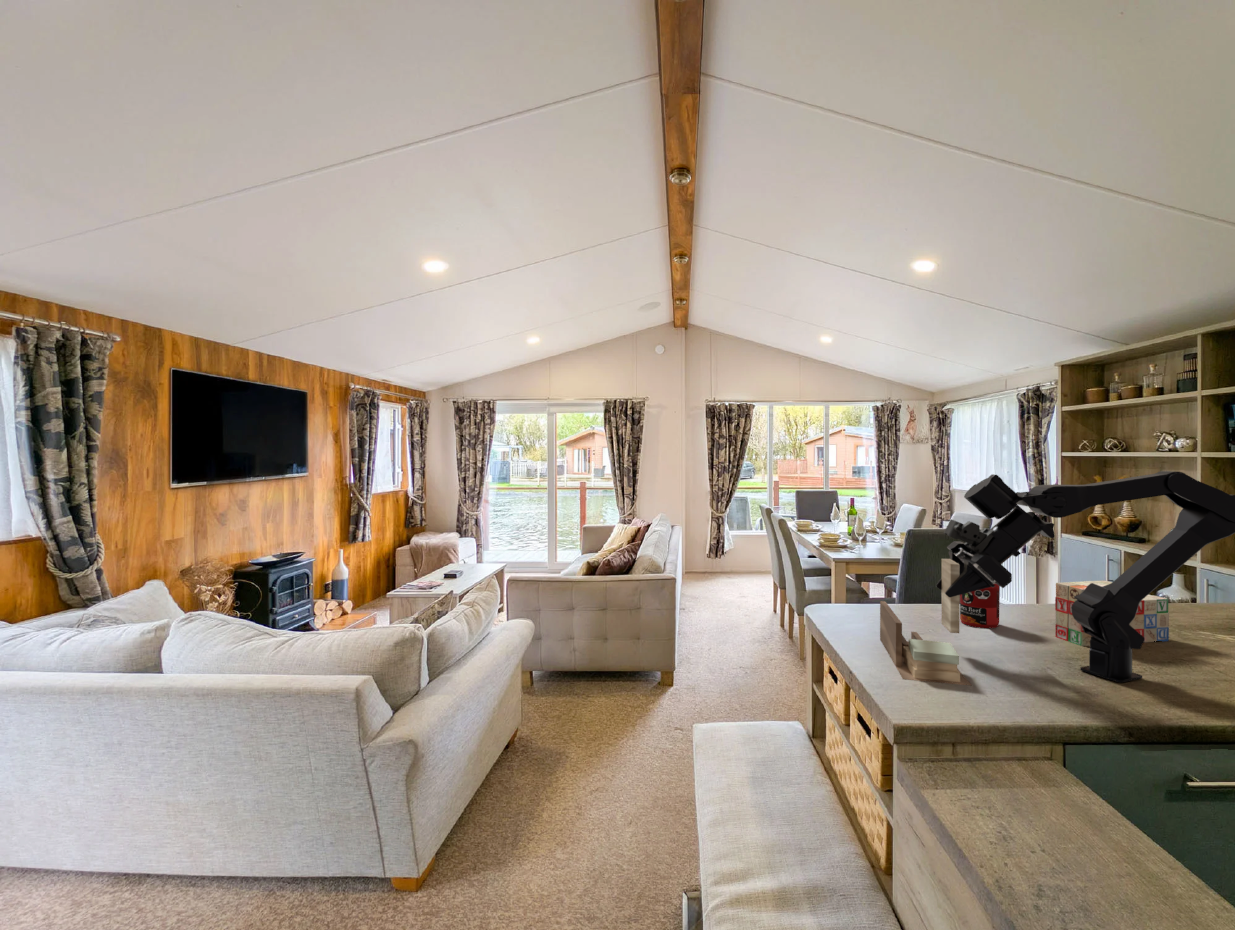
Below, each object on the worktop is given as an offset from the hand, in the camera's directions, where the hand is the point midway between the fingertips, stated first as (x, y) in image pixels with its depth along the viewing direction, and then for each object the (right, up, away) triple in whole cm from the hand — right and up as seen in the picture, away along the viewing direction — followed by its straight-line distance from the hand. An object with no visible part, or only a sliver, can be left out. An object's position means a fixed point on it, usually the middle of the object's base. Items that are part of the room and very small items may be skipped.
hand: (942, 591), depth 111 cm
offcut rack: (-6, -14, -3) cm, 15 cm away
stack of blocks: (+44, -14, +13) cm, 48 cm away
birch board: (+1, -7, 0) cm, 7 cm away
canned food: (+23, -13, +24) cm, 36 cm away
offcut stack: (-7, -12, -9) cm, 17 cm away
